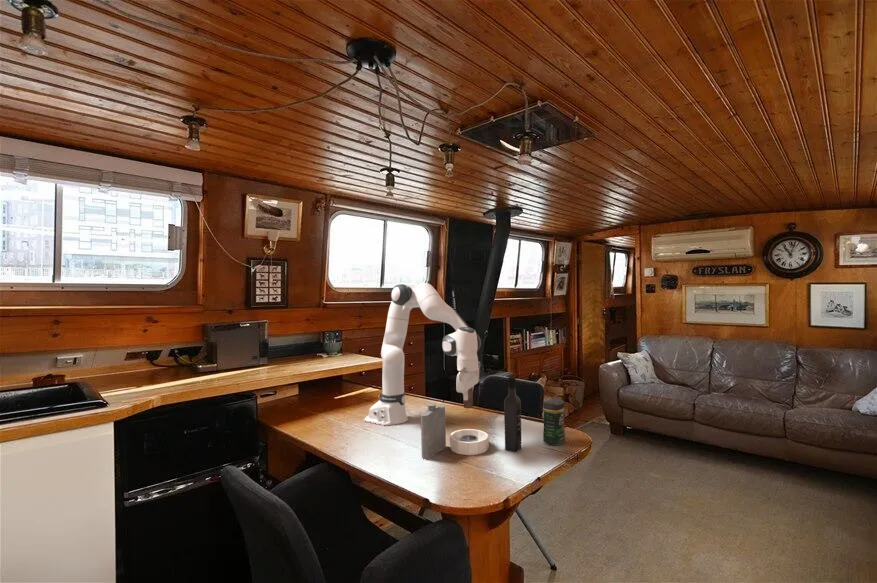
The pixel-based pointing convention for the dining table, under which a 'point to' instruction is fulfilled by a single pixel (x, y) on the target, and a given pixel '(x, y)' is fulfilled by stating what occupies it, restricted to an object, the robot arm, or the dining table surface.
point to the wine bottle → (512, 418)
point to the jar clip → (469, 438)
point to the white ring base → (469, 447)
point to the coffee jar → (553, 421)
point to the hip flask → (433, 430)
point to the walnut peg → (469, 402)
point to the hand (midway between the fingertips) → (468, 398)
